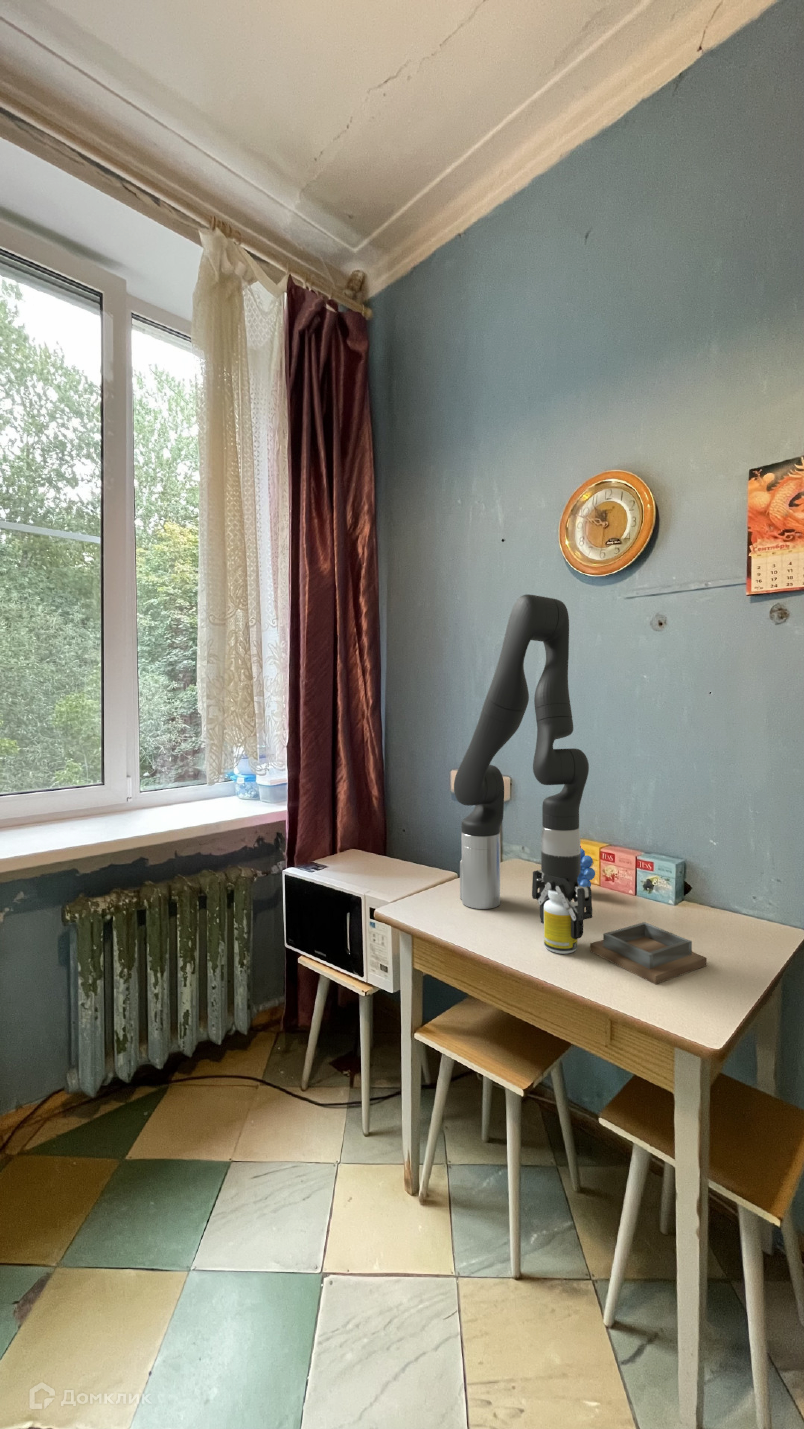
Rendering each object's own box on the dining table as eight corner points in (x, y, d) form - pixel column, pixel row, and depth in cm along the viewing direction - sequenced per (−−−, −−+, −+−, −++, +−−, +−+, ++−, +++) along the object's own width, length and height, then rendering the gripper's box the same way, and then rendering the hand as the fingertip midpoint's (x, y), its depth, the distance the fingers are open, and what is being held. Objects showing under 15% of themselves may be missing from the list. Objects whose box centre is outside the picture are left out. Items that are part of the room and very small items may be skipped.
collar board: (590, 950, 115) (590, 930, 115) (639, 936, 122) (639, 917, 122) (655, 984, 102) (655, 961, 102) (706, 965, 109) (706, 944, 109)
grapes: (606, 897, 144) (606, 849, 144) (587, 903, 141) (587, 853, 141) (570, 884, 155) (571, 839, 154) (551, 889, 151) (552, 843, 151)
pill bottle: (572, 958, 113) (572, 898, 112) (539, 950, 116) (539, 892, 115) (581, 945, 118) (581, 888, 118) (549, 938, 121) (549, 882, 121)
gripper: (602, 855, 112) (602, 939, 112) (549, 839, 124) (550, 914, 125) (572, 861, 108) (572, 947, 109) (522, 843, 121) (522, 921, 121)
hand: (560, 930), depth 117 cm, fingers open, 8 cm apart
